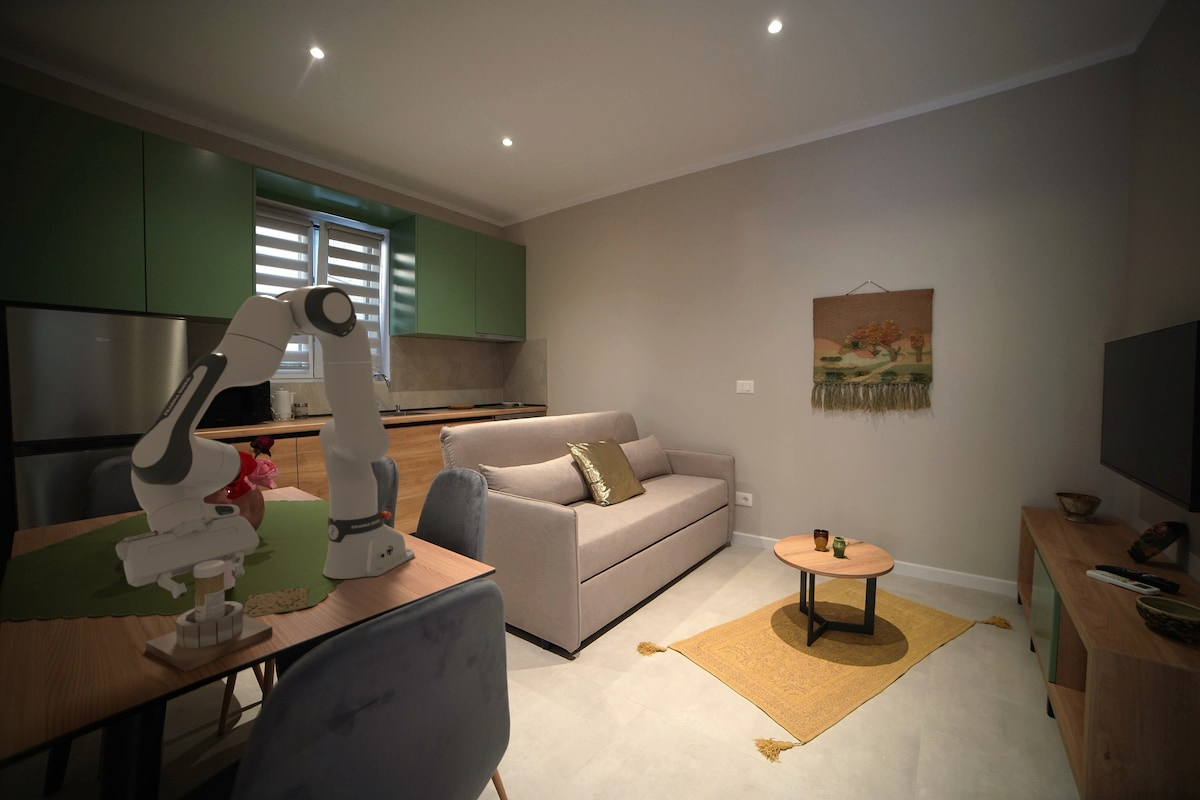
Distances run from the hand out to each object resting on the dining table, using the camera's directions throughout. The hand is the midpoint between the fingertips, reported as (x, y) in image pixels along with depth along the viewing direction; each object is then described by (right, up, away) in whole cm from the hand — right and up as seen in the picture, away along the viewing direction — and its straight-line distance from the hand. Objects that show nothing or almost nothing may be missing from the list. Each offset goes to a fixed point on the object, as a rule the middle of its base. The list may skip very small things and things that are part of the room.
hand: (211, 585), depth 93 cm
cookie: (+1, -11, +17) cm, 20 cm away
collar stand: (-1, -11, +1) cm, 11 cm away
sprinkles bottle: (-1, -10, +1) cm, 10 cm away
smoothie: (-16, -10, +24) cm, 30 cm away
